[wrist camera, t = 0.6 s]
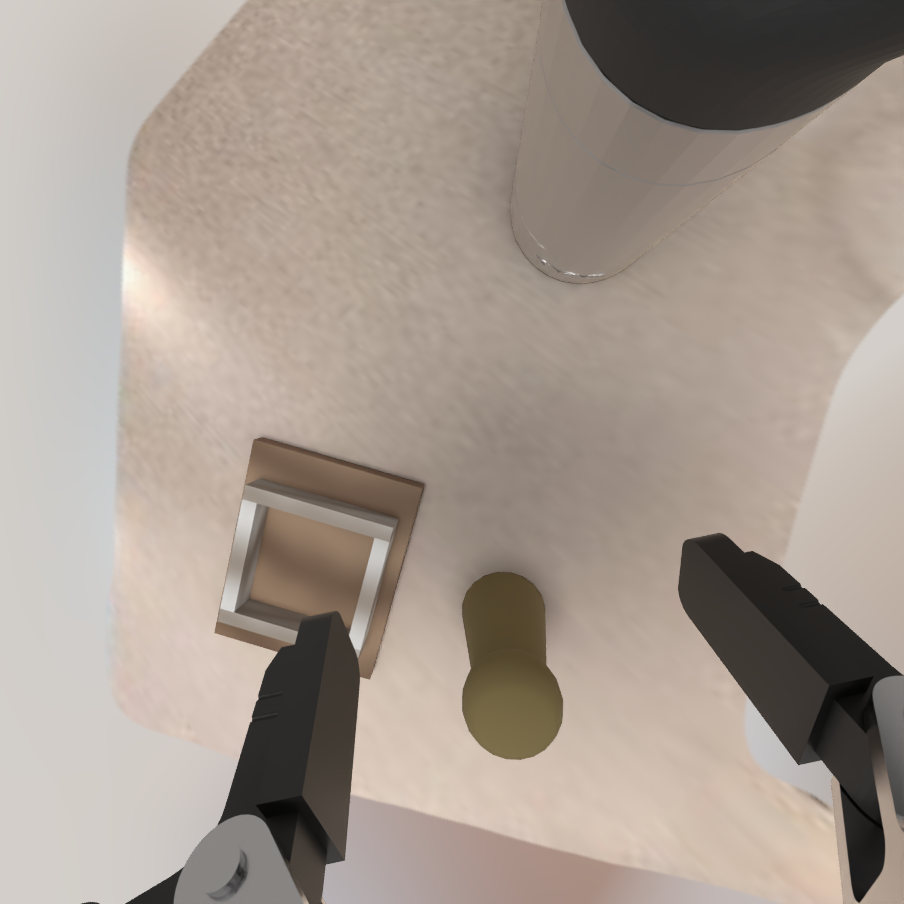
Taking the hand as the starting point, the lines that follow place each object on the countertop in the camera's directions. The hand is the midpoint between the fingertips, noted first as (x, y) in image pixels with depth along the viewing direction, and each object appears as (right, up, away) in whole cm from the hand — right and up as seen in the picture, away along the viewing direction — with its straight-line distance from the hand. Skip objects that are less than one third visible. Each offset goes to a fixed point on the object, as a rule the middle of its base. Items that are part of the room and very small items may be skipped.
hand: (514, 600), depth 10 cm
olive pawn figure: (+2, -8, +22) cm, 24 cm away
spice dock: (-11, -4, +22) cm, 25 cm away
